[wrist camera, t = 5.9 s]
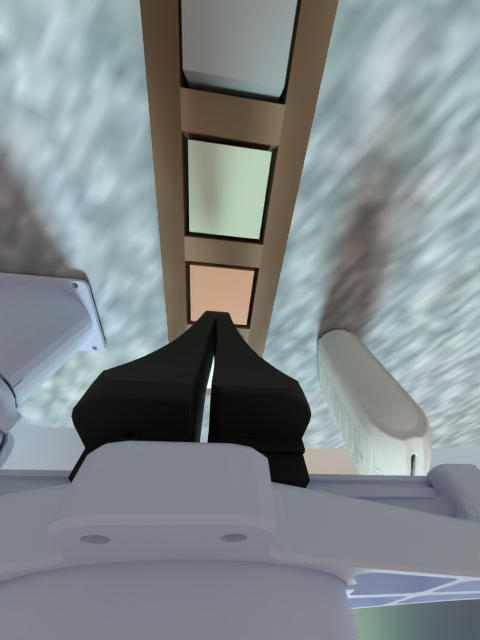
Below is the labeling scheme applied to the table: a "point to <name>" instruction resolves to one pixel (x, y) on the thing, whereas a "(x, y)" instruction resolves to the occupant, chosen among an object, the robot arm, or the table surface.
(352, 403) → the white rounded slab
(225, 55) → the slate key
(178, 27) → the keyboard
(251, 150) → the sage key
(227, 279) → the terracotta key
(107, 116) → the table surface
